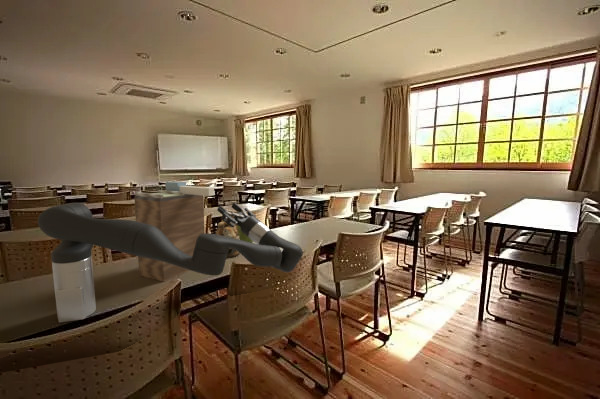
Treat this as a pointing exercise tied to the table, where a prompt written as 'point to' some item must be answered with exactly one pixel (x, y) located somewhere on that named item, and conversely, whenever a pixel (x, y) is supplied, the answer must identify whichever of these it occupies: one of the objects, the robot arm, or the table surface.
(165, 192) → the tall wood grain pillar
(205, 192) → the blue and beige bar
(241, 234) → the plant pot
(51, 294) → the table surface
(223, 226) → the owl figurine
